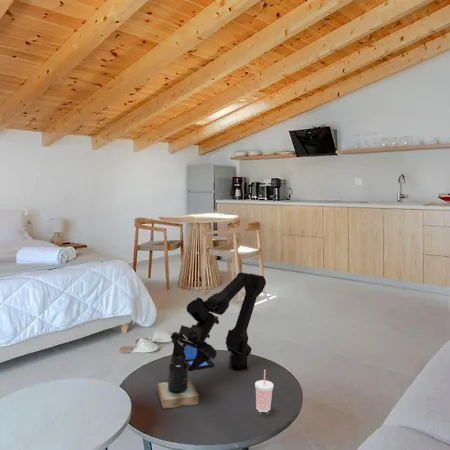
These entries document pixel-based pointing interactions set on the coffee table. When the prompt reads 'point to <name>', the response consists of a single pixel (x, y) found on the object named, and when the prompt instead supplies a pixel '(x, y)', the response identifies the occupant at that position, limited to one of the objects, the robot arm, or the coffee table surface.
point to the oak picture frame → (177, 396)
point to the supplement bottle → (178, 373)
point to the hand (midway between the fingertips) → (180, 366)
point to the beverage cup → (263, 394)
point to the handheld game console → (190, 357)
